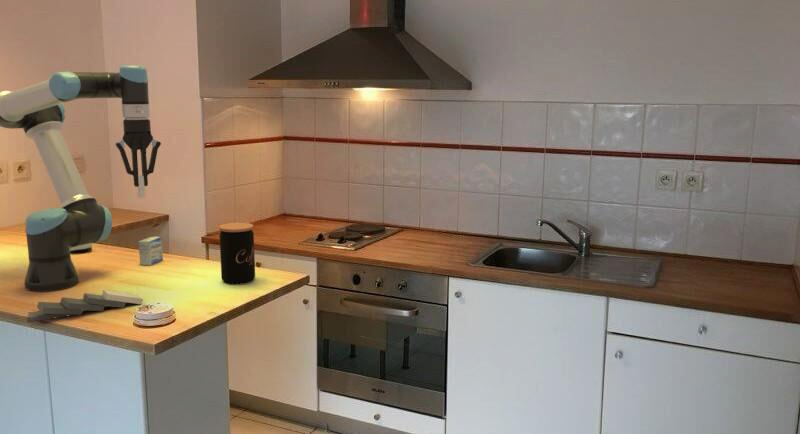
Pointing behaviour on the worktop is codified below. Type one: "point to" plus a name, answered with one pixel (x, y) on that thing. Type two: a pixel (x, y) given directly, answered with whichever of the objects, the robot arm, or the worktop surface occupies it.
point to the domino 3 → (80, 304)
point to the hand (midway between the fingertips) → (141, 196)
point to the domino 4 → (101, 300)
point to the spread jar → (81, 248)
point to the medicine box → (150, 250)
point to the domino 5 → (122, 297)
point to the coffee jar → (237, 253)
